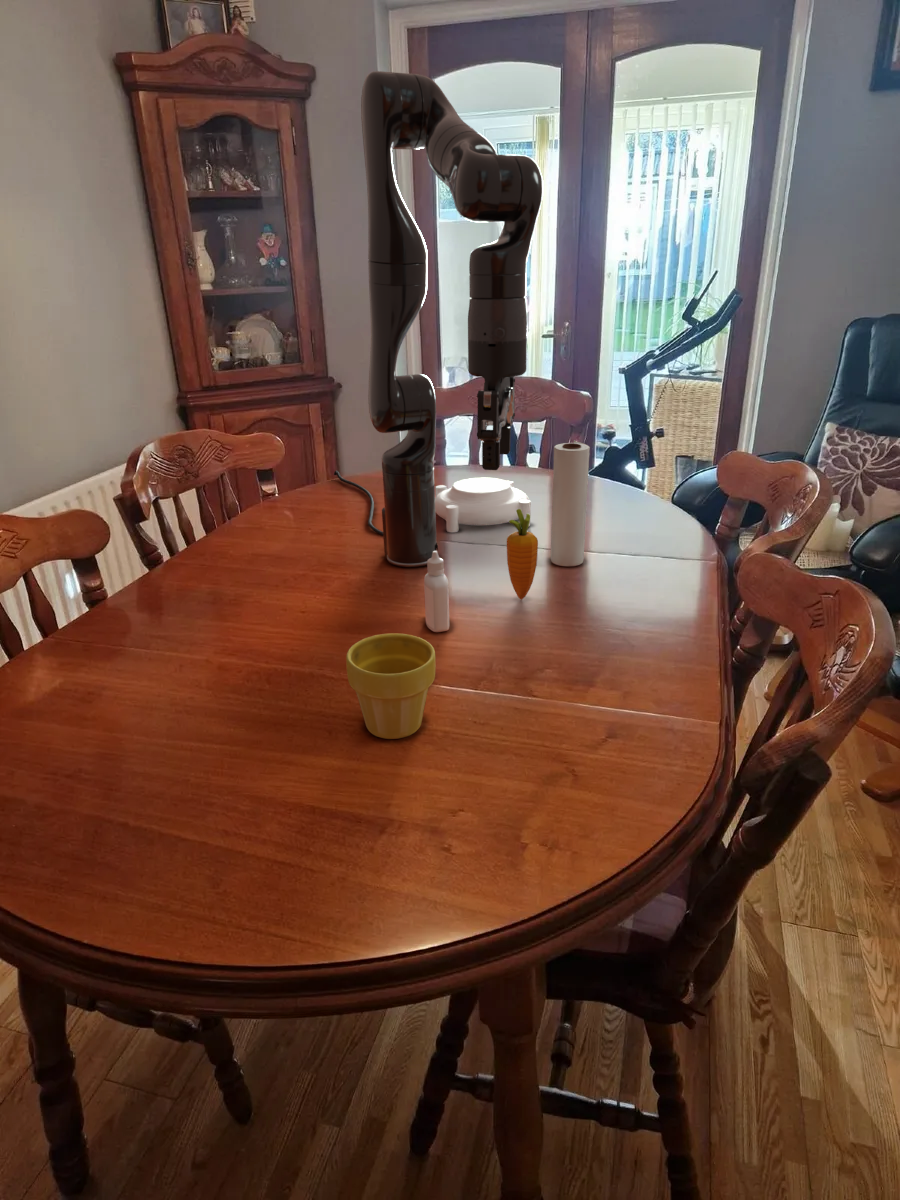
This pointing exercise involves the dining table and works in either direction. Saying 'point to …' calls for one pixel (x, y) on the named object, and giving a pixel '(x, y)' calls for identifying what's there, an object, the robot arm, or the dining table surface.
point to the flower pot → (391, 681)
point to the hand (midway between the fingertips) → (496, 461)
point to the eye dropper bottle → (436, 595)
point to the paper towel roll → (569, 503)
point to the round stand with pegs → (480, 502)
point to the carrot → (521, 555)
